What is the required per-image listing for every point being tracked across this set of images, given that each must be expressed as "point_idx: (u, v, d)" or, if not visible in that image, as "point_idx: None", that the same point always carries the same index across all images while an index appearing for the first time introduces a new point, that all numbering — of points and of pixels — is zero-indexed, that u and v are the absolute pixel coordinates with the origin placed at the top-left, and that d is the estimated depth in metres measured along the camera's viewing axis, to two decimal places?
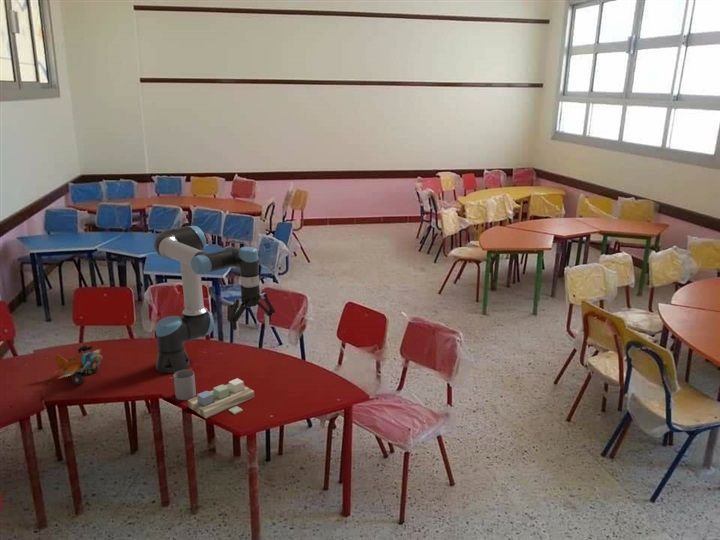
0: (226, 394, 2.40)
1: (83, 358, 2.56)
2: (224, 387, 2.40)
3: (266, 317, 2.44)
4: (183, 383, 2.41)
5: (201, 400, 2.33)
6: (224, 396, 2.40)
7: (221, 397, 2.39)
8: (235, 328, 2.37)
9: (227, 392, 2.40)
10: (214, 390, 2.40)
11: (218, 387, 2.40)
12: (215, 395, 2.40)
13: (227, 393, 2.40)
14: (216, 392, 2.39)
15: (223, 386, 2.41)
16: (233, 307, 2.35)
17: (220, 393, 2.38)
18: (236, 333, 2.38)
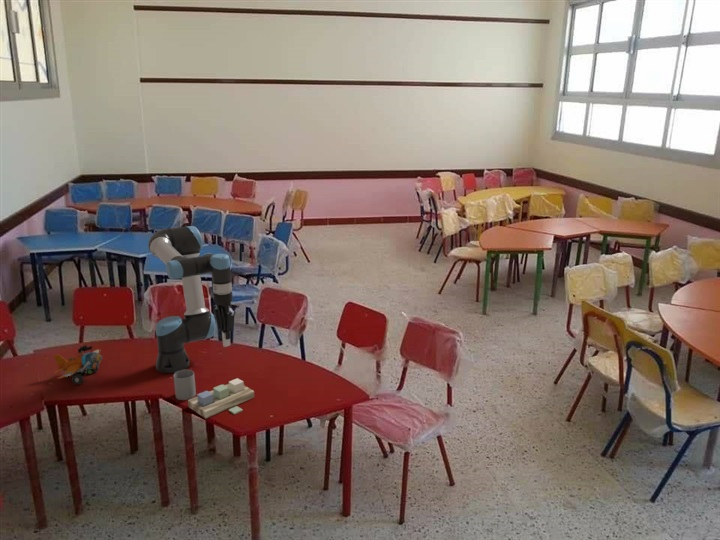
0: (226, 394, 2.40)
1: (83, 358, 2.56)
2: (224, 387, 2.40)
3: None
4: (183, 383, 2.41)
5: (201, 400, 2.33)
6: (224, 396, 2.40)
7: (221, 397, 2.39)
8: None
9: (227, 392, 2.40)
10: (214, 390, 2.40)
11: (218, 387, 2.40)
12: (215, 395, 2.40)
13: (227, 393, 2.40)
14: (216, 392, 2.39)
15: (223, 386, 2.41)
16: None
17: (220, 393, 2.38)
18: None
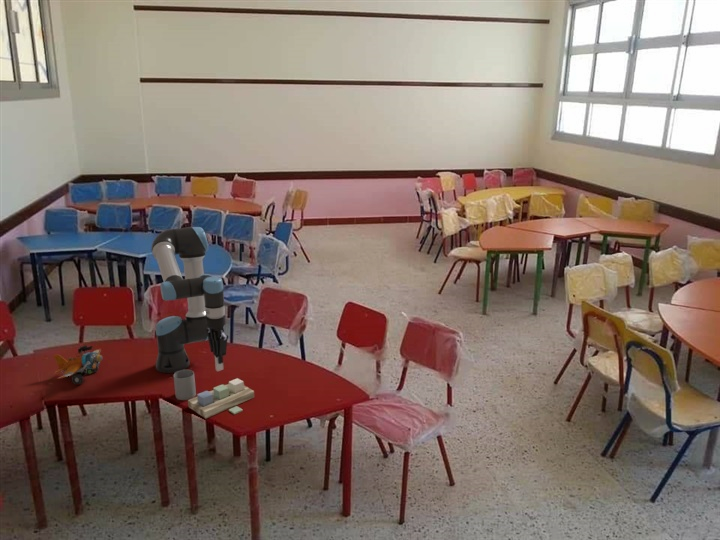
0: (226, 394, 2.40)
1: (83, 358, 2.56)
2: (224, 387, 2.40)
3: None
4: (183, 383, 2.41)
5: (201, 400, 2.33)
6: (224, 396, 2.40)
7: (221, 397, 2.39)
8: None
9: (227, 392, 2.40)
10: (214, 390, 2.40)
11: (218, 387, 2.40)
12: (215, 395, 2.40)
13: (227, 393, 2.40)
14: (216, 392, 2.39)
15: (223, 386, 2.41)
16: None
17: (220, 393, 2.38)
18: None
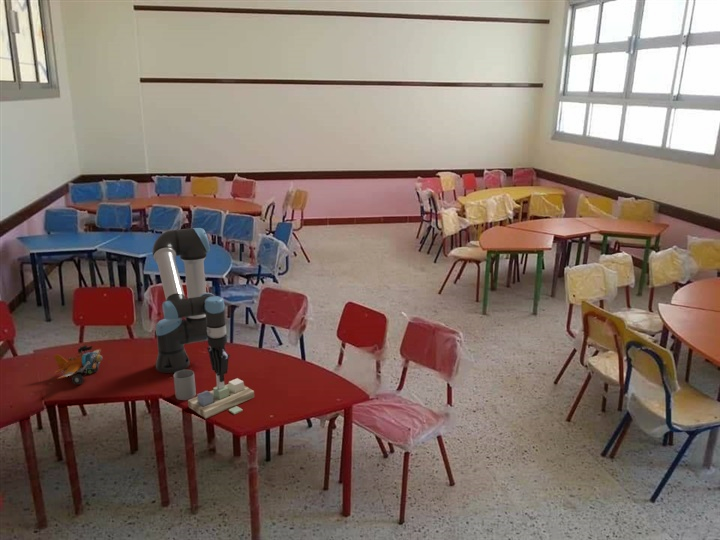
0: (226, 394, 2.40)
1: (83, 358, 2.56)
2: (224, 387, 2.40)
3: None
4: (183, 383, 2.41)
5: (201, 400, 2.33)
6: (224, 396, 2.40)
7: (221, 397, 2.39)
8: None
9: (227, 392, 2.40)
10: (214, 390, 2.40)
11: None
12: (215, 395, 2.40)
13: (227, 393, 2.40)
14: (216, 392, 2.39)
15: None
16: None
17: (220, 393, 2.38)
18: None
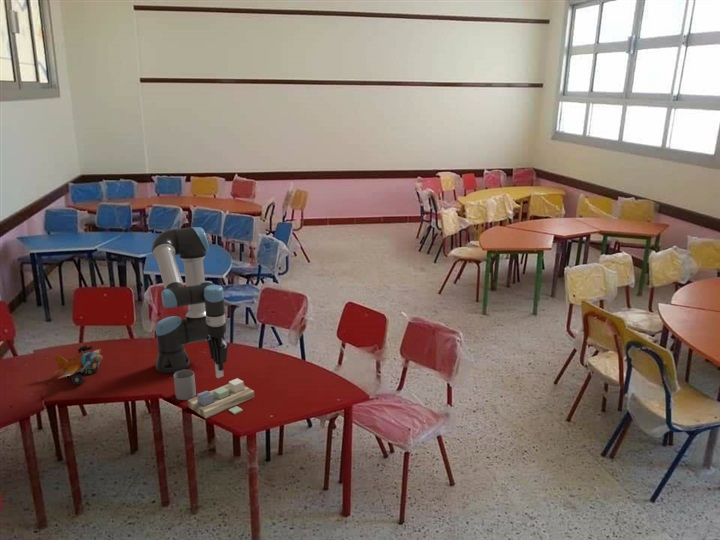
0: None
1: (83, 358, 2.56)
2: (224, 390, 2.41)
3: None
4: (183, 383, 2.41)
5: (201, 400, 2.33)
6: None
7: None
8: None
9: (227, 395, 2.41)
10: (214, 393, 2.40)
11: (218, 390, 2.41)
12: None
13: (227, 396, 2.41)
14: (216, 394, 2.39)
15: (223, 388, 2.42)
16: None
17: (220, 396, 2.38)
18: None
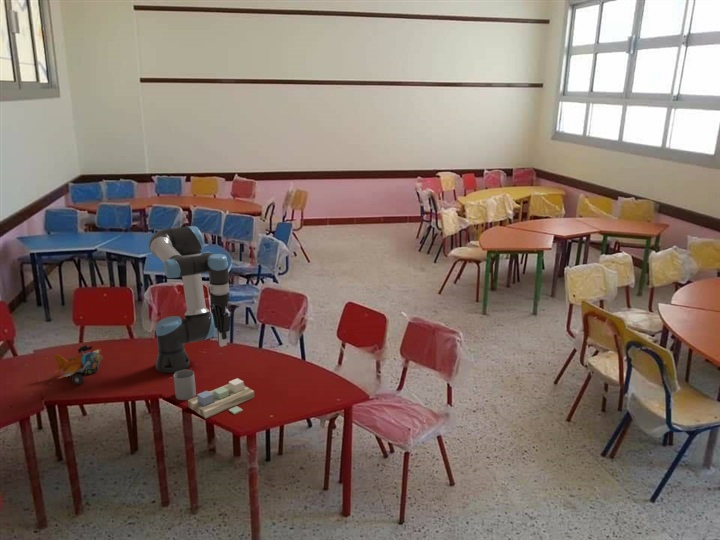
0: None
1: (83, 358, 2.56)
2: (224, 390, 2.41)
3: None
4: (183, 383, 2.41)
5: (201, 400, 2.33)
6: None
7: None
8: None
9: (227, 395, 2.41)
10: (214, 393, 2.40)
11: (218, 390, 2.41)
12: None
13: (227, 396, 2.41)
14: (216, 394, 2.39)
15: (223, 388, 2.42)
16: None
17: (220, 396, 2.38)
18: None
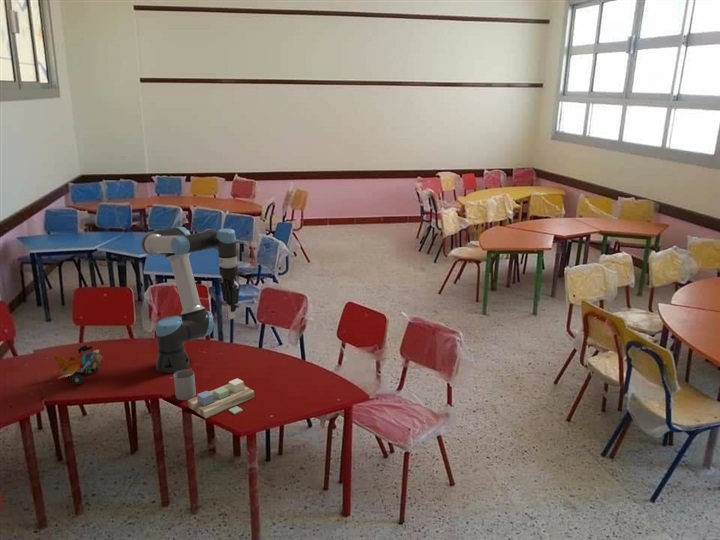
0: None
1: (83, 358, 2.56)
2: (224, 390, 2.41)
3: None
4: (183, 383, 2.41)
5: (201, 400, 2.33)
6: None
7: None
8: None
9: (227, 395, 2.41)
10: (214, 393, 2.40)
11: (218, 390, 2.41)
12: None
13: (227, 396, 2.41)
14: (216, 394, 2.39)
15: (223, 388, 2.42)
16: None
17: (220, 396, 2.38)
18: None
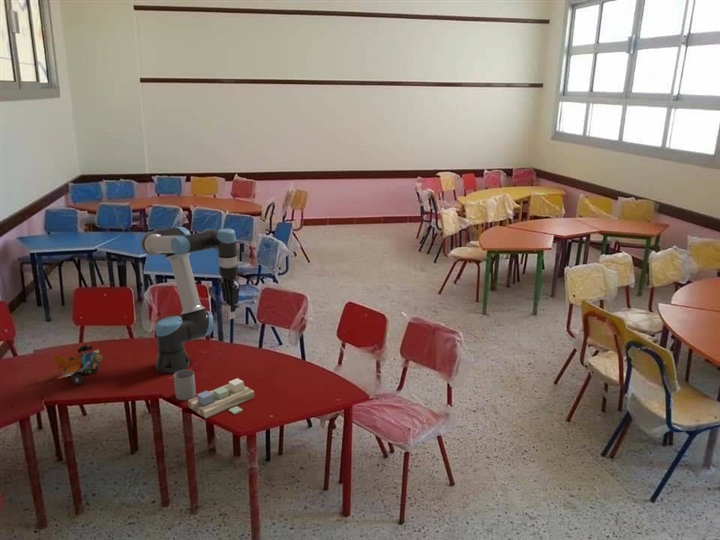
0: None
1: (83, 358, 2.56)
2: (224, 390, 2.41)
3: None
4: (183, 383, 2.41)
5: (201, 400, 2.33)
6: None
7: None
8: None
9: (227, 395, 2.41)
10: (214, 393, 2.40)
11: (218, 390, 2.41)
12: None
13: (227, 396, 2.41)
14: (216, 394, 2.39)
15: (223, 388, 2.42)
16: None
17: (220, 396, 2.38)
18: None
